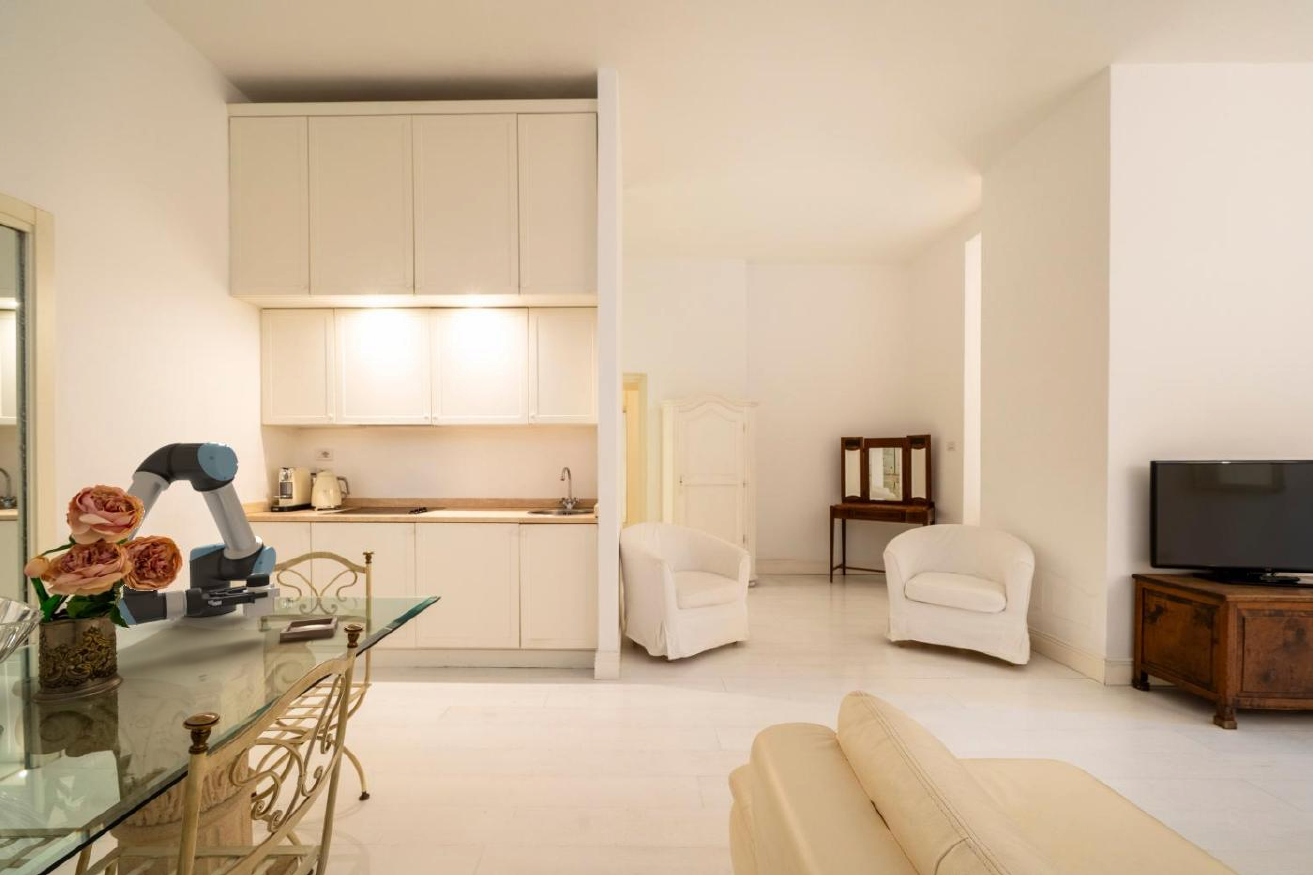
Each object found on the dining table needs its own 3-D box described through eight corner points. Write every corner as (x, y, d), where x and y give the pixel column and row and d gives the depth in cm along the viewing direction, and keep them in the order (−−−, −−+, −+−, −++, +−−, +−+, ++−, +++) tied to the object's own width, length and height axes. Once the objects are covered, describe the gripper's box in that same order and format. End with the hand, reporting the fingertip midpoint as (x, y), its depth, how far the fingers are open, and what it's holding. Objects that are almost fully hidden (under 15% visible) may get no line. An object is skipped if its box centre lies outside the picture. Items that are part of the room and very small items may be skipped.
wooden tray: (288, 629, 204) (288, 621, 204) (338, 624, 209) (338, 616, 209) (280, 642, 191) (279, 633, 191) (333, 636, 196) (333, 628, 196)
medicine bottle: (274, 614, 196) (273, 574, 196) (246, 619, 192) (245, 578, 192) (269, 609, 202) (269, 570, 202) (242, 613, 197) (242, 574, 197)
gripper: (181, 609, 193) (270, 595, 208) (188, 624, 178) (284, 608, 193) (180, 583, 193) (270, 572, 208) (188, 596, 178) (284, 582, 192)
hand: (276, 589), depth 200 cm, fingers closed on medicine bottle, 7 cm apart
